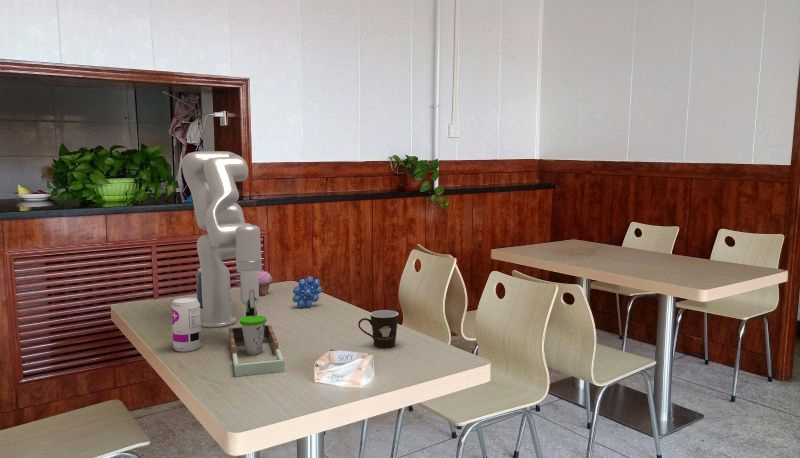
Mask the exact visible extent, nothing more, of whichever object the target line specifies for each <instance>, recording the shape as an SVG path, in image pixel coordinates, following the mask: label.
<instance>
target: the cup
mask: <svg viewBox="0 0 800 458" xmlns="http://www.w3.org/2000/svg"><path fill="white" fill-rule="evenodd" d="M257 304H258V303H257V300H255V304H254V316H246V315H245V316H243V317H241V318H239V324H240V325H241V327H242V330H243V336H244V342H245V345H244V346H245V347H244V348H245V353H246V355H248V356H257V355H260V354H261V353H262V352H263V344H264V343H263V337H264V328H265V325H266V323H267V316H264V315H258V314H257V315H256V311H257Z"/></svg>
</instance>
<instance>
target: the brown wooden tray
mask: <svg viewBox="0 0 800 458" xmlns="http://www.w3.org/2000/svg"><path fill="white" fill-rule="evenodd" d="M273 329H274V328H273V327H272V325H271V324H265V328H264V337H263V344H268V343H269V344H270V346H271V349H272V352H273V355H274V357H276V349H279V342H278V339H277V336H276V334H275V332H274V330H273ZM228 338H229V339H228V341H229V347H230V352H231V359H232V361H233V354H235V353H237V347H238V346H245V342H244V336H243V330H242V326H241V327H240V326H239V327H229V328H228Z"/></svg>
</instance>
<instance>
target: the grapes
mask: <svg viewBox="0 0 800 458" xmlns="http://www.w3.org/2000/svg"><path fill="white" fill-rule="evenodd" d="M320 284H321V281H320V279H318V278H316V279H314V277H313V276H311V275H310V276H308V277H306V279H305V278H302V279H299V280H298V285H296V286H295V287H294V288H293V290H292V293H293V294H294V295H293V296H292V302H293V303H296V305H297V307H298V308H303V307H306V308H310V307H312V305H313V303H316V302H318V301H319V300H320V294H321V293H322V291H323V288H322V286H320Z"/></svg>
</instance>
